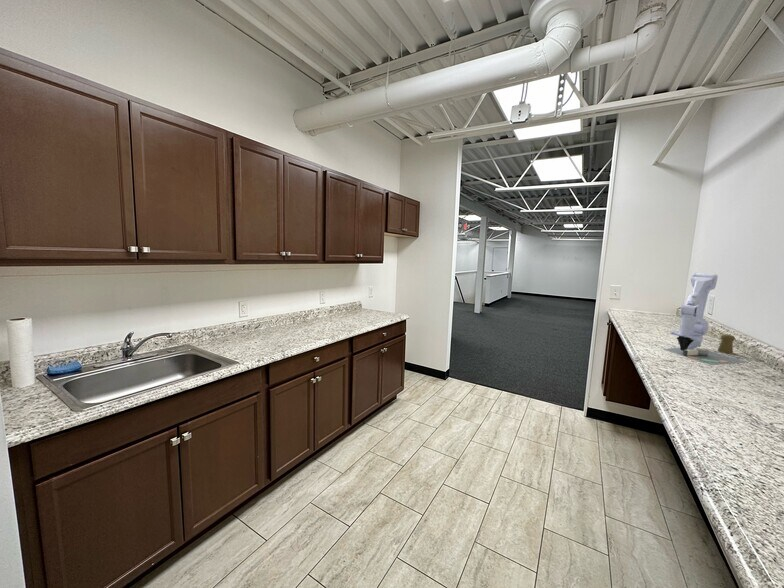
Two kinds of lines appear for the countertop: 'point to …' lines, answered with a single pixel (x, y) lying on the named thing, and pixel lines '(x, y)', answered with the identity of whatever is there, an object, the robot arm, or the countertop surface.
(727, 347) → the cork
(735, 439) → the countertop surface
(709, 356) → the board
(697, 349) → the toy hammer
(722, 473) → the countertop surface
